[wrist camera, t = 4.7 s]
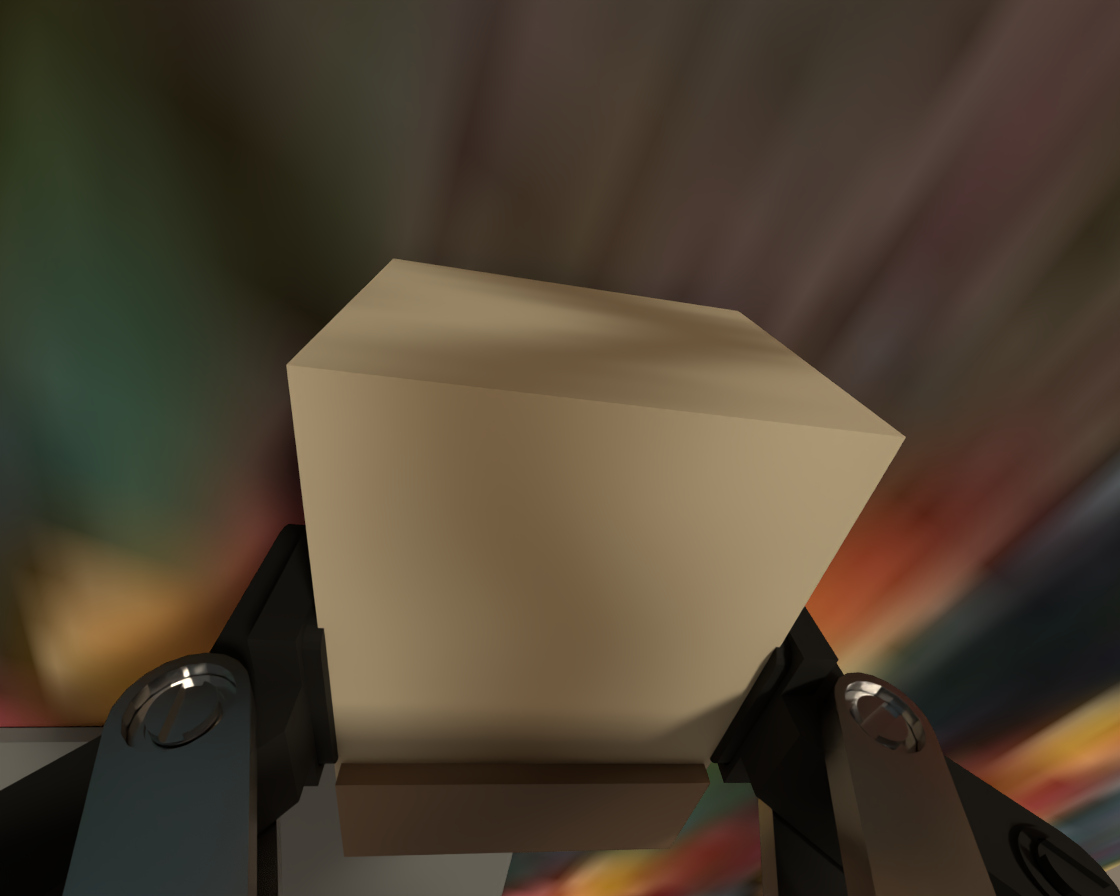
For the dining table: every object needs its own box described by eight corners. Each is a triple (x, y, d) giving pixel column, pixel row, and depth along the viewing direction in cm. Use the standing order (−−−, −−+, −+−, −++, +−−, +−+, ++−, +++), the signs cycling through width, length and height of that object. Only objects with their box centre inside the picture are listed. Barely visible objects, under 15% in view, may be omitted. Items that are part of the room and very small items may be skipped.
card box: (738, 310, 9) (925, 452, 5) (623, 638, 14) (671, 852, 9) (393, 258, 8) (271, 378, 4) (394, 628, 13) (338, 863, 9)
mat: (541, 724, 16) (542, 737, 16) (489, 930, 25) (489, 941, 25) (-42, 728, 14) (-56, 743, 13) (132, 956, 22) (126, 969, 22)
